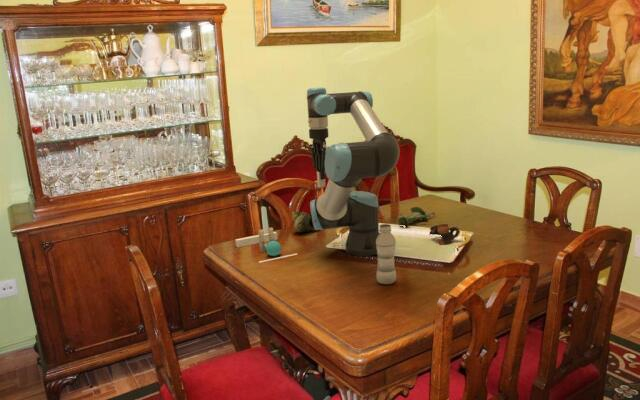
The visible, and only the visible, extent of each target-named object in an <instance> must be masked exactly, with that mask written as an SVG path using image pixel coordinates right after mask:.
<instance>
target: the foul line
mask: <svg viewBox="0 0 640 400" xmlns="http://www.w3.org/2000/svg"><path fill="white" fill-rule="evenodd" d="M293 256H298V253H297V252H296V253H292V254H288V255H282V256H279V257H278V256H277V257H274V258H269V259H265V260H260V261H258V263H259V264H262V263H266V262H270V261H274V260H279V259H280V260H281V259H285V258H288V257H293Z"/></svg>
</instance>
